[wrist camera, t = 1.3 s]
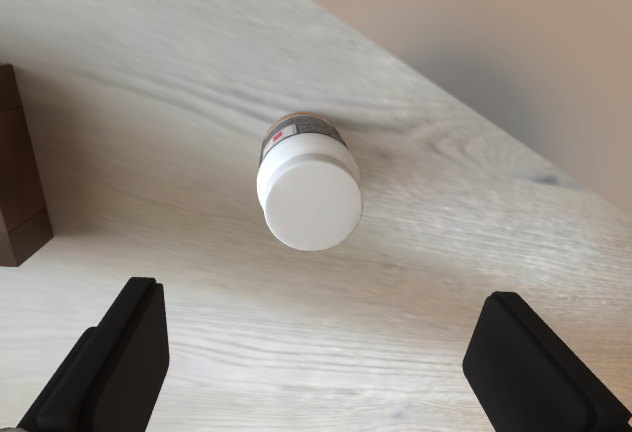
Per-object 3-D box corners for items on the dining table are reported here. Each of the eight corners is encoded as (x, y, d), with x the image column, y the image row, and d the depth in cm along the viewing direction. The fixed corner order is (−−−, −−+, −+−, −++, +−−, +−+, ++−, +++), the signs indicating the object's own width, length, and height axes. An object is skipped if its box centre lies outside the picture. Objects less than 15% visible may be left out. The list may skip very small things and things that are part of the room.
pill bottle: (245, 150, 25) (224, 208, 16) (304, 91, 24) (317, 120, 15) (300, 203, 27) (309, 281, 18) (358, 152, 26) (398, 209, 17)
